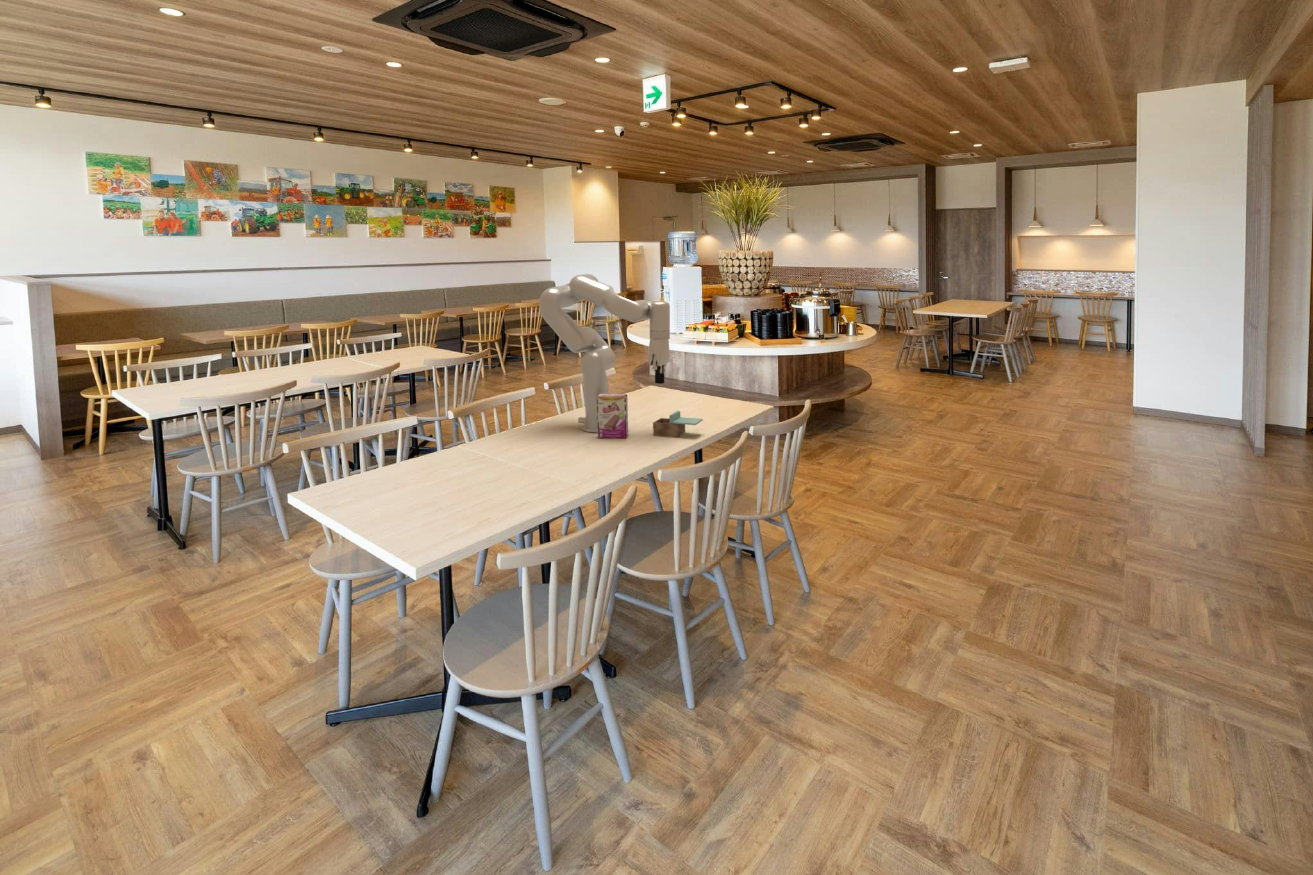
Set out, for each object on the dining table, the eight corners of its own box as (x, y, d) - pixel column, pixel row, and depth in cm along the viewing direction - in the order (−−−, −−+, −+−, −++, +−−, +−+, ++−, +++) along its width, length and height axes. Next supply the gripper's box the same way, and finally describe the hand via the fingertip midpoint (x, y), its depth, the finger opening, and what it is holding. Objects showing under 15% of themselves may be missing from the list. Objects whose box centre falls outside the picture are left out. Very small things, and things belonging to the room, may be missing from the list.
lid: (669, 423, 277) (669, 415, 276) (677, 418, 284) (677, 410, 283) (695, 425, 273) (695, 417, 272) (702, 420, 280) (702, 412, 279)
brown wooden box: (653, 435, 281) (652, 422, 280) (661, 430, 288) (661, 417, 287) (677, 437, 277) (677, 424, 276) (685, 432, 284) (685, 419, 283)
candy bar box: (598, 438, 278) (596, 396, 274) (600, 435, 283) (598, 393, 279) (627, 438, 277) (625, 396, 273) (628, 435, 282) (627, 393, 278)
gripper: (658, 332, 282) (658, 379, 287) (642, 336, 269) (642, 386, 274) (676, 333, 279) (676, 380, 284) (660, 338, 266) (660, 387, 271)
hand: (659, 383), depth 279 cm, fingers closed
